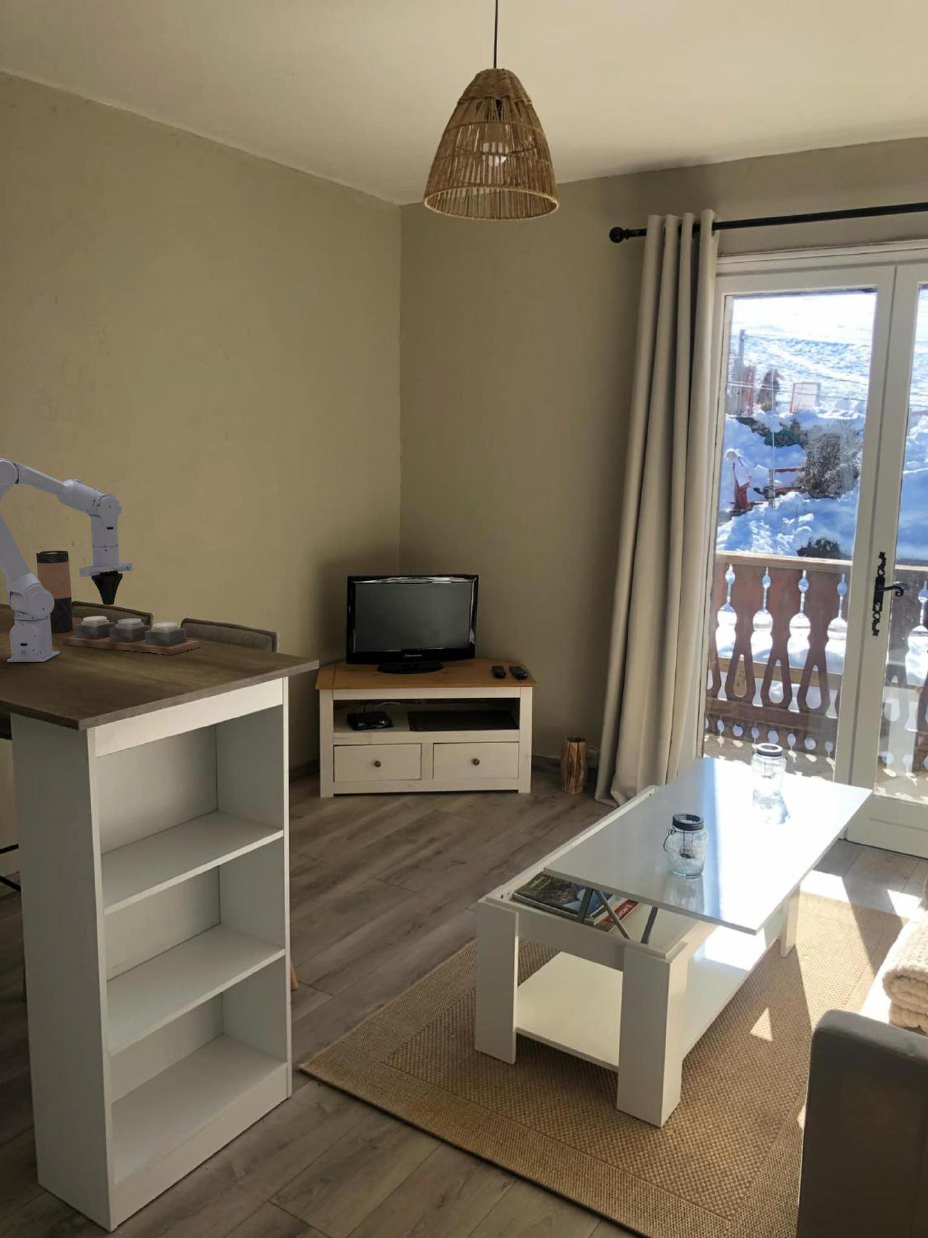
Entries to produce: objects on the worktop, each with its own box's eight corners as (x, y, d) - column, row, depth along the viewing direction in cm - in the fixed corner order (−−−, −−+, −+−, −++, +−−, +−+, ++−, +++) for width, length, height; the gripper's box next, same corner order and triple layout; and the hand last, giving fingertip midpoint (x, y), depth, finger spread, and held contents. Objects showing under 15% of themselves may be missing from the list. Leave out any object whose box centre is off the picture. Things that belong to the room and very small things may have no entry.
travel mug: (79, 630, 257) (74, 551, 254) (49, 634, 252) (44, 554, 249) (65, 626, 263) (60, 549, 259) (36, 630, 257) (30, 552, 254)
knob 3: (182, 641, 234) (181, 623, 233) (167, 645, 229) (166, 626, 228) (164, 639, 236) (163, 621, 235) (149, 643, 231) (148, 625, 230)
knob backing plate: (199, 647, 235) (199, 628, 234) (171, 655, 226) (170, 635, 225) (94, 637, 248) (93, 619, 247) (63, 644, 239) (61, 625, 238)
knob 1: (112, 634, 242) (111, 617, 241) (96, 638, 237) (95, 620, 237) (95, 633, 244) (94, 615, 244) (79, 636, 240) (78, 618, 239)
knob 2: (146, 637, 238) (145, 619, 237) (131, 641, 233) (130, 622, 232) (129, 635, 240) (128, 617, 239) (113, 639, 235) (112, 621, 235)
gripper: (94, 549, 225) (98, 610, 227) (141, 544, 238) (144, 601, 240) (71, 548, 228) (74, 607, 230) (118, 543, 241) (121, 599, 243)
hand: (108, 604), depth 235 cm, fingers closed
